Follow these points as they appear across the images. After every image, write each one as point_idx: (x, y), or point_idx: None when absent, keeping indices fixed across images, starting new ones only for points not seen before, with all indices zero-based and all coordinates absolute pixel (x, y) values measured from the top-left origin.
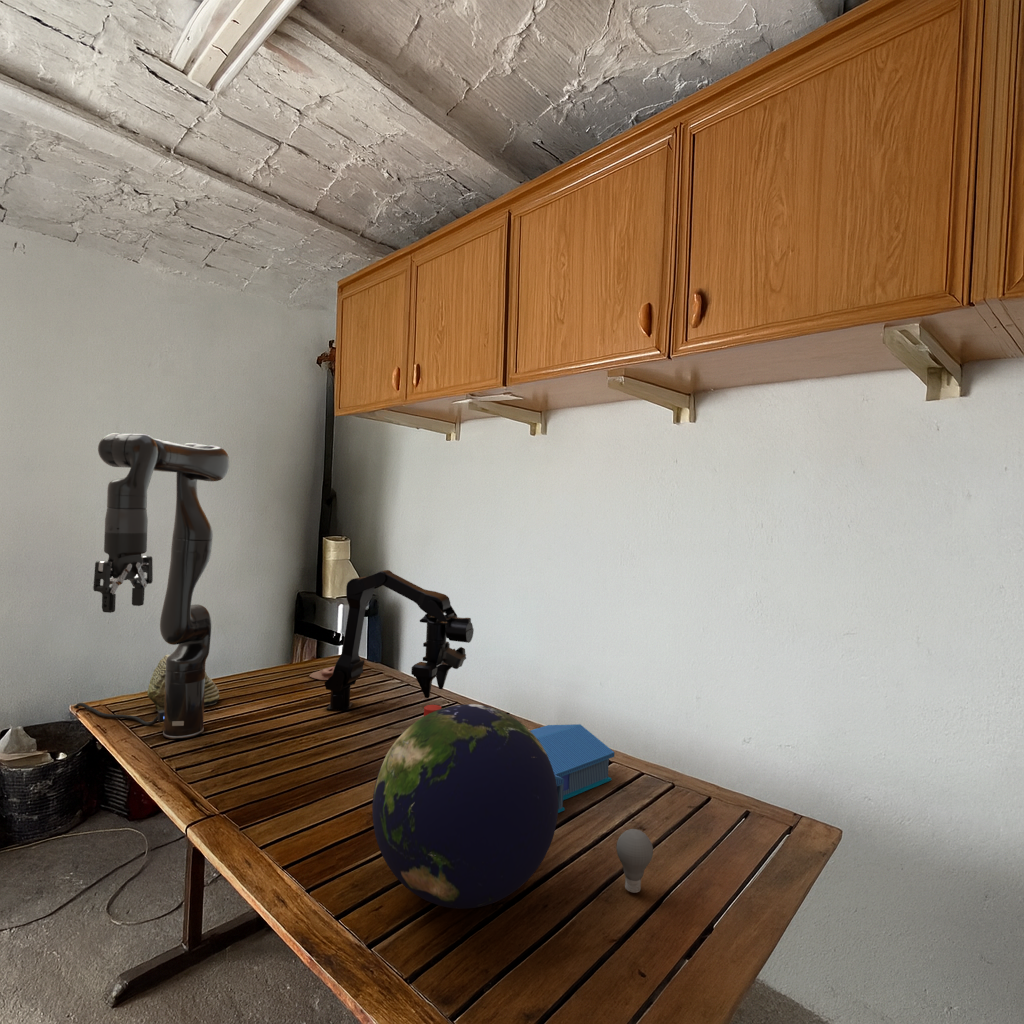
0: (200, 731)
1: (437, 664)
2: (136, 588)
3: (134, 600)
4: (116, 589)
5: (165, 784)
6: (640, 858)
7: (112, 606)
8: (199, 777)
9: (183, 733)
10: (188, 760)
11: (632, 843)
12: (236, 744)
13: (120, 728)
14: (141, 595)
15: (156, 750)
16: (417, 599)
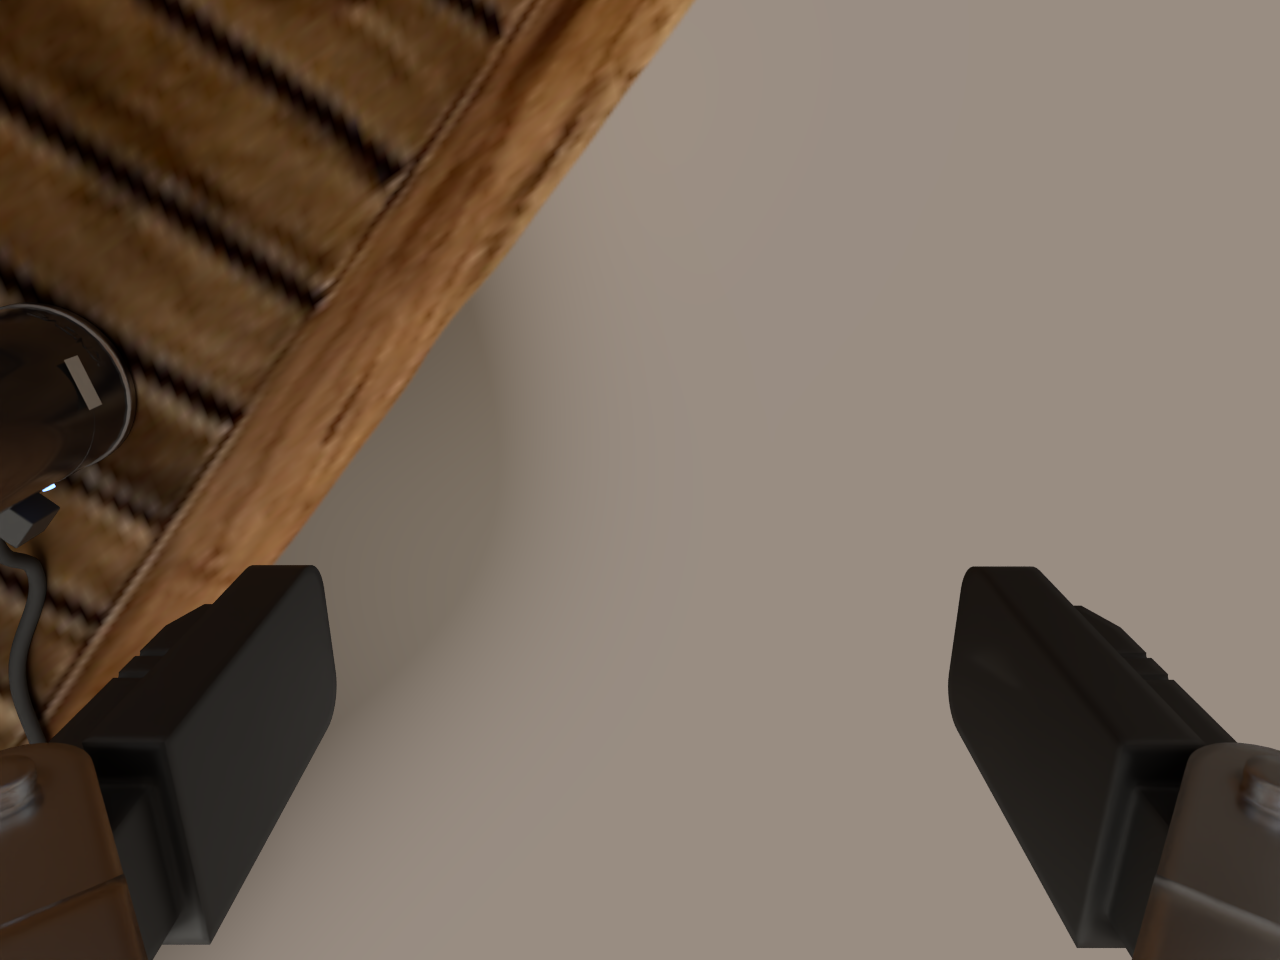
0: (24, 304)
1: None
2: (189, 861)
3: (307, 715)
4: (1174, 812)
5: (531, 129)
6: None
7: (1069, 608)
8: (436, 19)
9: (97, 348)
10: (297, 180)
11: None
12: (59, 58)
13: (118, 655)
14: (240, 655)
15: (253, 380)
16: None
